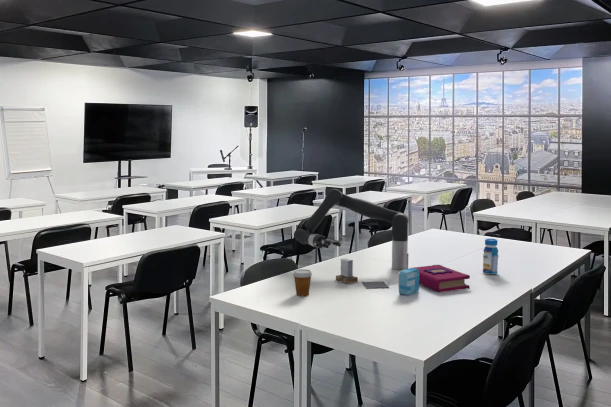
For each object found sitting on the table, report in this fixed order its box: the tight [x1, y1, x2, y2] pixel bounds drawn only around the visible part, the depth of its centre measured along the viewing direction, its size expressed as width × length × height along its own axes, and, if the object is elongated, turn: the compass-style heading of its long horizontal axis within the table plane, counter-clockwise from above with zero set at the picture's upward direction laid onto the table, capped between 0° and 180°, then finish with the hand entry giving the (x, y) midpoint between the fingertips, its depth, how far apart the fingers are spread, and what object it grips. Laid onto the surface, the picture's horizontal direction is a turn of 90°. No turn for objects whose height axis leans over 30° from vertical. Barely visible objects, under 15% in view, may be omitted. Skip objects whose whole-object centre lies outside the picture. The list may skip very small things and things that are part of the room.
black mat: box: [362, 280, 390, 290], centre depth 297 cm, size 12×12×1 cm
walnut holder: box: [335, 274, 358, 285], centre depth 306 cm, size 10×7×2 cm
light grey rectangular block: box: [340, 257, 354, 279], centre depth 305 cm, size 6×4×12 cm, turn 34°
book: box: [413, 264, 471, 293], centre depth 300 cm, size 21×28×8 cm
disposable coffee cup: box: [293, 268, 313, 297], centre depth 280 cm, size 10×10×12 cm
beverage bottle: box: [482, 238, 499, 275], centre depth 320 cm, size 8×8×20 cm
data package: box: [398, 267, 420, 296], centre depth 282 cm, size 12×4×12 cm, turn 136°
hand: (334, 245), depth 313 cm, fingers open, 8 cm apart
